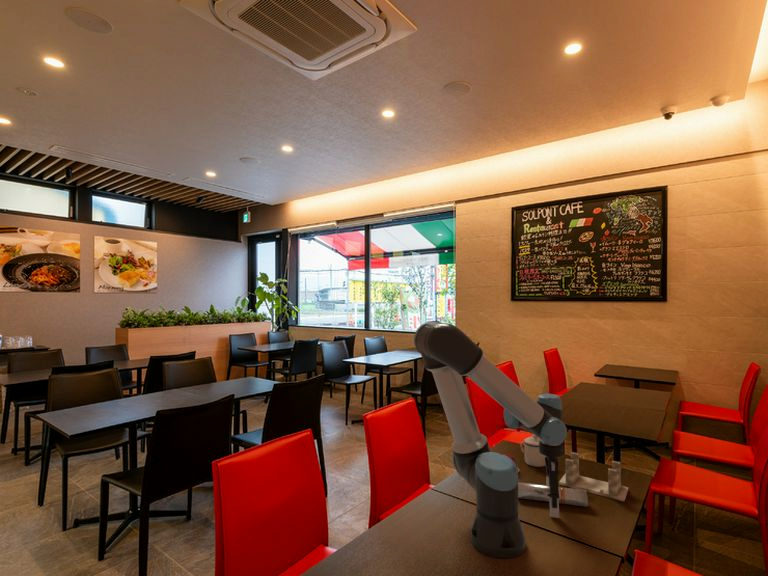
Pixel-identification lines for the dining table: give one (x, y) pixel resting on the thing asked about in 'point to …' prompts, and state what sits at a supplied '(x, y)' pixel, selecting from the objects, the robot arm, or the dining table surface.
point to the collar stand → (594, 480)
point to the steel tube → (542, 492)
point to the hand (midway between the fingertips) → (552, 505)
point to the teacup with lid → (533, 452)
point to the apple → (512, 459)
